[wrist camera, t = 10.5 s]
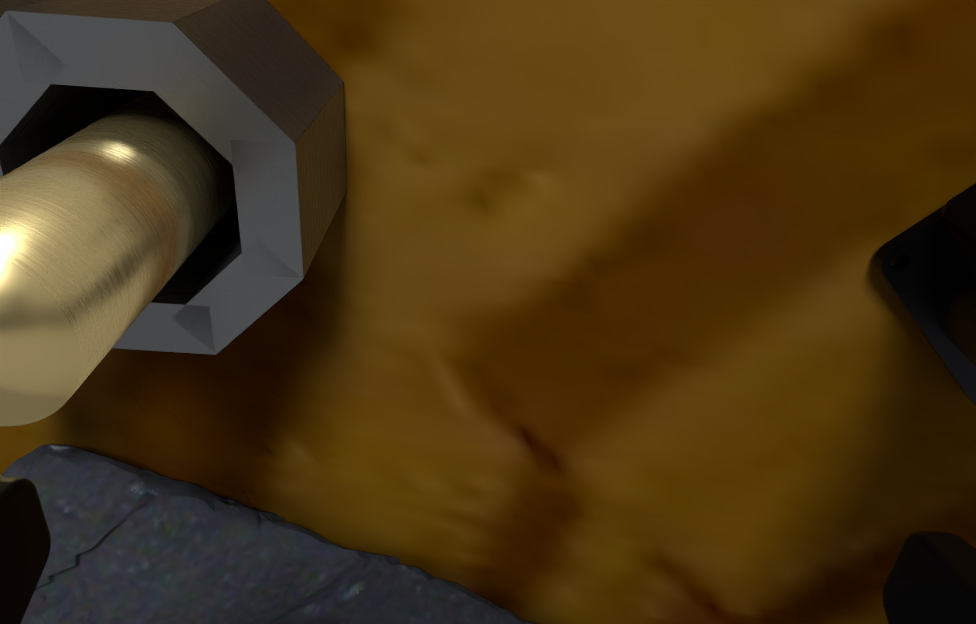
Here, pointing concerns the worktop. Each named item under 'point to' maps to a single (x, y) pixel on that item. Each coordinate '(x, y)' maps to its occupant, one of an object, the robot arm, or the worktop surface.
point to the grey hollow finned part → (213, 114)
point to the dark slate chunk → (209, 558)
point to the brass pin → (96, 244)
